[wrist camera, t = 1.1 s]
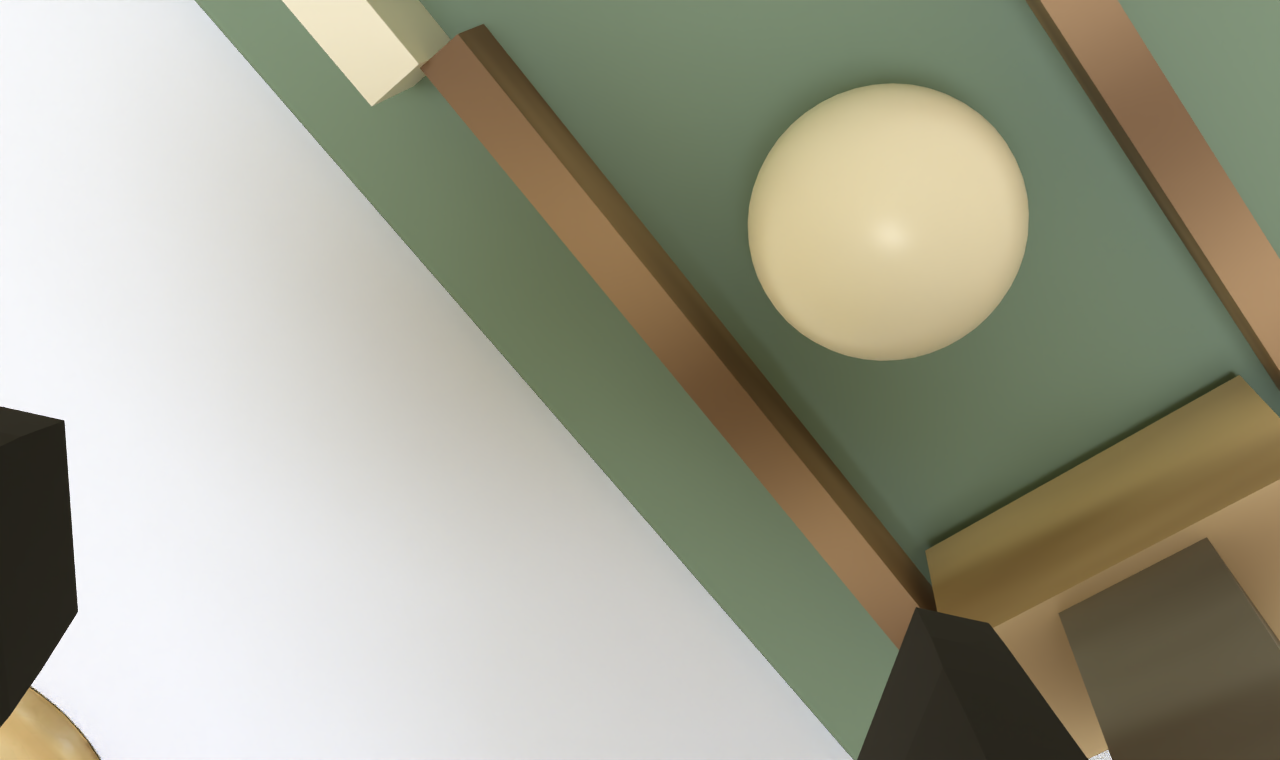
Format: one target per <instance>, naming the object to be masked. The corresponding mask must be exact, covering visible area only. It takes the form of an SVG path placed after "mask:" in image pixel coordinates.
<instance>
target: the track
mask: <svg viewBox="0 0 1280 760" xmlns="http://www.w3.org/2000/svg"><path fill="white" fill-rule="evenodd" d="M1025 1H1026V2H1027V4H1028V5H1029V7H1030V8H1031V10H1032V11H1033V13H1034V14H1035V16H1036V17H1037V19H1038V21H1039V22H1040V24H1041V25H1042V27H1043V28H1044V30H1045V31H1046V33H1047V34H1048V36H1049V37H1050V39H1051V41H1052V42H1053V44H1054V45H1055V47H1056V48H1057V50H1058V51H1059V53H1060V54H1061V56H1062V57H1063V59H1064V61H1065V62H1066V64H1067V65H1068V67H1069V68H1070V70H1071V71H1072V73H1073V74H1074V76H1075V77H1076V79H1077V80H1078V82H1079V84H1080V85H1081V87H1082V88H1083V90H1084V91H1085V93H1086V94H1087V96H1088V97H1089V99H1090V100H1091V102H1092V104H1093V105H1094V107H1095V108H1096V110H1097V111H1098V113H1099V114H1100V116H1101V117H1102V119H1103V120H1104V122H1105V124H1106V125H1107V127H1108V128H1109V130H1110V131H1111V133H1112V134H1113V136H1114V137H1115V139H1116V140H1117V142H1118V144H1119V145H1120V147H1121V148H1122V150H1123V151H1124V153H1125V154H1126V156H1127V157H1128V159H1129V160H1130V162H1131V164H1132V165H1133V167H1134V168H1135V170H1136V171H1137V173H1138V174H1139V176H1140V177H1141V179H1142V180H1143V182H1144V183H1145V185H1146V187H1147V188H1148V190H1149V191H1150V193H1151V194H1152V196H1153V197H1154V199H1155V200H1156V202H1157V203H1158V205H1159V207H1160V208H1161V210H1162V211H1163V213H1164V214H1165V216H1166V217H1167V219H1168V220H1169V222H1170V223H1171V225H1172V227H1173V228H1174V230H1175V231H1176V233H1177V234H1178V236H1179V237H1180V239H1181V240H1182V242H1183V243H1184V245H1185V247H1186V248H1187V250H1188V251H1189V253H1190V254H1191V256H1192V257H1193V259H1194V260H1195V262H1196V263H1197V265H1198V267H1199V268H1200V270H1201V271H1202V273H1203V274H1204V276H1205V277H1206V279H1207V280H1208V282H1209V283H1210V285H1211V287H1212V288H1213V290H1214V291H1215V293H1216V294H1217V296H1218V297H1219V299H1220V300H1221V302H1222V303H1223V305H1224V306H1225V308H1226V310H1227V311H1228V313H1229V314H1230V316H1231V317H1232V319H1233V320H1234V322H1235V323H1236V325H1237V326H1238V328H1239V330H1240V331H1241V333H1242V334H1243V336H1244V337H1245V339H1246V340H1247V342H1248V343H1249V345H1250V346H1251V348H1252V350H1253V351H1254V353H1255V354H1256V356H1257V357H1258V359H1259V360H1260V362H1261V363H1262V365H1263V366H1264V368H1265V370H1266V371H1267V373H1268V374H1269V376H1270V377H1271V379H1272V380H1273V382H1274V383H1275V385H1276V386H1277V388H1278V390H1279V391H1280V259H1279V257H1278V256H1277V254H1276V252H1275V251H1274V249H1273V248H1272V246H1271V244H1270V243H1269V241H1268V240H1267V238H1266V236H1265V235H1264V233H1263V232H1262V230H1261V228H1260V227H1259V225H1258V224H1257V222H1256V220H1255V219H1254V217H1253V216H1252V214H1251V212H1250V211H1249V209H1248V208H1247V206H1246V204H1245V203H1244V201H1243V200H1242V198H1241V196H1240V195H1239V193H1238V192H1237V190H1236V188H1235V187H1234V185H1233V184H1232V182H1231V180H1230V179H1229V177H1228V176H1227V174H1226V172H1225V171H1224V169H1223V168H1222V166H1221V165H1220V163H1219V161H1218V160H1217V158H1216V157H1215V155H1214V153H1213V152H1212V150H1211V149H1210V147H1209V145H1208V144H1207V142H1206V141H1205V139H1204V137H1203V136H1202V134H1201V133H1200V131H1199V129H1198V128H1197V126H1196V125H1195V123H1194V121H1193V120H1192V118H1191V117H1190V115H1189V113H1188V112H1187V110H1186V109H1185V107H1184V105H1183V104H1182V102H1181V101H1180V99H1179V97H1178V96H1177V94H1176V93H1175V91H1174V89H1173V88H1172V86H1171V85H1170V83H1169V81H1168V80H1167V78H1166V77H1165V75H1164V74H1163V72H1162V70H1161V69H1160V67H1159V66H1158V64H1157V62H1156V61H1155V59H1154V58H1153V56H1152V54H1151V53H1150V51H1149V50H1148V48H1147V46H1146V45H1145V43H1144V42H1143V40H1142V38H1141V37H1140V35H1139V34H1138V32H1137V30H1136V29H1135V27H1134V26H1133V24H1132V22H1131V21H1130V19H1129V18H1128V16H1127V14H1126V13H1125V11H1124V10H1123V8H1122V6H1121V5H1120V3H1119V2H1118V0H1025ZM420 69H421V70H422V71H423V73H424V74H425V75H426V76H427V77H428V79H429V80H430V81H431V82H432V84H433V85H434V86H435V87H436V88H437V90H438V91H439V92H440V93H441V94H442V96H443V97H444V98H445V99H446V101H447V102H448V103H449V104H450V105H451V107H452V108H453V109H454V110H455V111H456V113H457V114H458V115H459V116H460V118H461V119H462V120H463V121H464V122H465V124H466V125H467V126H468V127H469V128H470V130H471V131H472V132H473V133H474V135H475V136H476V137H477V138H478V139H479V141H480V142H481V143H482V144H483V145H484V147H485V148H486V149H487V150H488V152H489V153H490V154H491V155H492V156H493V158H494V159H495V160H496V161H497V162H498V164H499V165H500V166H501V167H502V169H503V170H504V171H505V172H506V173H507V175H508V176H509V177H510V178H511V179H512V181H513V182H514V183H515V184H516V186H517V187H518V188H519V189H520V190H521V192H522V193H523V194H524V195H525V197H526V198H527V199H528V200H529V201H530V203H531V204H532V205H533V206H534V207H535V209H536V210H537V211H538V212H539V214H540V215H541V216H542V217H543V218H544V220H545V221H546V222H547V223H548V224H549V226H550V227H551V228H552V229H553V231H554V232H555V233H556V234H557V235H558V237H559V238H560V239H561V240H562V241H563V243H564V244H565V245H566V246H567V248H568V249H569V250H570V251H571V252H572V254H573V255H574V256H575V257H576V258H577V260H578V261H579V262H580V263H581V265H582V266H583V267H584V268H585V269H586V271H587V272H588V273H589V274H590V275H591V277H592V278H593V279H594V280H595V282H596V283H597V284H598V285H599V286H600V288H601V289H602V290H603V291H604V292H605V294H606V295H607V296H608V297H609V299H610V300H611V301H612V302H613V303H614V305H615V306H616V307H617V308H618V309H619V311H620V312H621V313H622V314H623V316H624V317H625V318H626V319H627V320H628V322H629V323H630V324H631V325H632V326H633V328H634V329H635V330H636V331H637V333H638V334H639V335H640V336H641V337H642V339H643V340H644V341H645V342H646V343H647V345H648V346H649V347H650V348H651V350H652V351H653V352H654V353H655V354H656V356H657V357H658V358H659V359H660V360H661V362H662V363H663V364H664V365H665V367H666V368H667V369H668V370H669V371H670V373H671V374H672V375H673V376H674V378H675V379H676V380H677V381H678V382H679V384H680V385H681V386H682V387H683V388H684V390H685V391H686V392H687V393H688V395H689V396H690V397H691V398H692V399H693V401H694V402H695V403H696V404H697V405H698V407H699V408H700V409H701V410H702V412H703V413H704V414H705V415H706V416H707V418H708V419H709V420H710V421H711V422H712V424H713V425H714V426H715V427H716V429H717V430H718V431H719V432H720V433H721V435H722V436H723V437H724V438H725V439H726V441H727V442H728V443H729V444H730V446H731V447H732V448H733V449H734V450H735V452H736V453H737V454H738V455H739V456H740V458H741V459H742V460H743V461H744V463H745V464H746V465H747V466H748V467H749V469H750V470H751V471H752V472H753V473H754V475H755V476H756V477H757V478H758V480H759V481H760V482H761V483H762V484H763V486H764V487H765V488H766V489H767V490H768V492H769V493H770V494H771V495H772V497H773V498H774V499H775V500H776V501H777V503H778V504H779V505H780V506H781V507H782V509H783V510H784V511H785V512H786V514H787V515H788V516H789V517H790V518H791V520H792V521H793V522H794V523H795V524H796V526H797V527H798V528H799V529H800V531H801V532H802V533H803V534H804V535H805V537H806V538H807V539H808V540H809V541H810V543H811V544H812V545H813V546H814V548H815V549H816V550H817V551H818V552H819V554H820V555H821V556H822V557H823V559H824V560H825V561H826V562H827V563H828V565H829V566H830V567H831V568H832V569H833V571H834V572H835V573H836V574H837V576H838V577H839V578H840V579H841V580H842V582H843V583H844V584H845V585H846V586H847V588H848V589H849V590H850V591H851V593H852V594H853V595H854V596H855V597H856V599H857V600H858V601H859V602H860V603H861V605H862V606H863V607H864V608H865V610H866V611H867V612H868V613H869V614H870V616H871V617H872V618H873V619H874V620H875V622H876V623H877V624H878V625H879V627H880V628H881V629H882V630H883V631H884V633H885V634H886V635H887V636H888V637H889V639H890V640H891V641H892V642H893V644H894V645H895V646H896V647H897V648H898V650H899V649H900V647H901V644H902V642H903V639H904V636H905V634H906V631H907V628H908V626H909V623H910V621H911V618H912V615H913V613H914V610H915V608H916V607H918V608H922V609H927V610H931V611H936V612H937V608H936V603H935V598H934V593H933V588H932V586H931V584H930V583H929V582H928V581H927V579H926V578H925V577H924V576H923V574H922V573H921V572H920V571H919V569H918V568H917V567H916V566H915V564H914V563H913V562H912V561H911V559H910V558H909V557H908V556H907V554H906V553H905V552H904V551H903V549H902V548H901V547H900V546H899V544H898V543H897V542H896V541H895V539H894V538H893V537H892V535H891V534H890V533H889V532H888V530H887V529H886V528H885V527H884V525H883V524H882V523H881V522H880V520H879V519H878V518H877V517H876V515H875V514H874V513H873V512H872V510H871V509H870V508H869V507H868V505H867V504H866V503H865V502H864V500H863V499H862V498H861V497H860V495H859V494H858V493H857V492H856V490H855V489H854V488H853V487H852V485H851V484H850V483H849V482H848V480H847V479H846V478H845V477H844V475H843V474H842V473H841V471H840V470H839V469H838V468H837V466H836V465H835V464H834V463H833V461H832V460H831V459H830V458H829V456H828V455H827V454H826V453H825V451H824V450H823V449H822V448H821V446H820V445H819V444H818V443H817V441H816V440H815V439H814V438H813V436H812V435H811V434H810V433H809V431H808V430H807V429H806V428H805V426H804V425H803V424H802V423H801V421H800V420H799V419H798V418H797V416H796V415H795V414H794V413H793V411H792V410H791V409H790V407H789V406H788V405H787V404H786V402H785V401H784V400H783V399H782V397H781V396H780V395H779V394H778V392H777V391H776V390H775V389H774V387H773V386H772V385H771V384H770V382H769V381H768V380H767V379H766V377H765V376H764V375H763V374H762V372H761V371H760V370H759V369H758V367H757V366H756V365H755V364H754V362H753V361H752V360H751V359H750V357H749V356H748V355H747V354H746V352H745V351H744V350H743V348H742V347H741V346H740V345H739V343H738V342H737V341H736V340H735V338H734V337H733V336H732V335H731V333H730V332H729V331H728V330H727V328H726V327H725V326H724V325H723V323H722V322H721V321H720V320H719V318H718V317H717V316H716V315H715V313H714V312H713V311H712V310H711V308H710V307H709V306H708V305H707V303H706V302H705V301H704V300H703V298H702V297H701V296H700V295H699V293H698V292H697V291H696V290H695V288H694V287H693V286H692V284H691V283H690V282H689V281H688V279H687V278H686V277H685V276H684V274H683V273H682V272H681V271H680V269H679V268H678V267H677V266H676V264H675V263H674V262H673V261H672V259H671V258H670V257H669V256H668V254H667V253H666V252H665V251H664V249H663V248H662V247H661V246H660V244H659V243H658V242H657V241H656V239H655V238H654V237H653V236H652V234H651V233H650V232H649V231H648V229H647V228H646V227H645V226H644V224H643V223H642V222H641V220H640V219H639V218H638V217H637V215H636V214H635V213H634V212H633V210H632V209H631V208H630V207H629V205H628V204H627V203H626V202H625V200H624V199H623V198H622V197H621V195H620V194H619V193H618V192H617V190H616V189H615V188H614V187H613V185H612V184H611V183H610V182H609V180H608V179H607V178H606V177H605V175H604V174H603V173H602V172H601V170H600V169H599V168H598V167H597V165H596V164H595V163H594V162H593V160H592V159H591V158H590V156H589V155H588V154H587V153H586V151H585V150H584V149H583V148H582V146H581V145H580V144H579V143H578V141H577V140H576V139H575V138H574V136H573V135H572V134H571V133H570V131H569V130H568V129H567V128H566V126H565V125H564V124H563V123H562V121H561V120H560V119H559V118H558V116H557V115H556V114H555V113H554V111H553V110H552V109H551V108H550V106H549V105H548V104H547V103H546V101H545V100H544V99H543V97H542V96H541V95H540V94H539V92H538V91H537V90H536V89H535V87H534V86H533V85H532V84H531V82H530V81H529V80H528V79H527V77H526V76H525V75H524V74H523V72H522V71H521V70H520V69H519V67H518V66H517V65H516V64H515V62H514V61H513V60H512V59H511V57H510V56H509V55H508V54H507V52H506V51H505V50H504V49H503V47H502V46H501V45H500V44H499V42H498V41H497V40H496V39H495V37H494V36H493V35H492V33H491V32H490V31H489V30H488V28H487V27H486V26H485V25H484V24H482V25H479V26H477V27H474V28H472V29H469V30H467V31H464V32H461V33H459V34H457V35H456V36H455V37H454V38H453V39H452V40H450V41H449V42H448V43H447V44H446V45H445V46H444V47H443V48H442V49H440V50H439V51H438V52H437V53H436V54H435V55H434V56H433V57H432V58H430V59H429V60H428V61H427V62H426V63H425V64H424V65H423V66H421V67H420Z"/></svg>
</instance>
